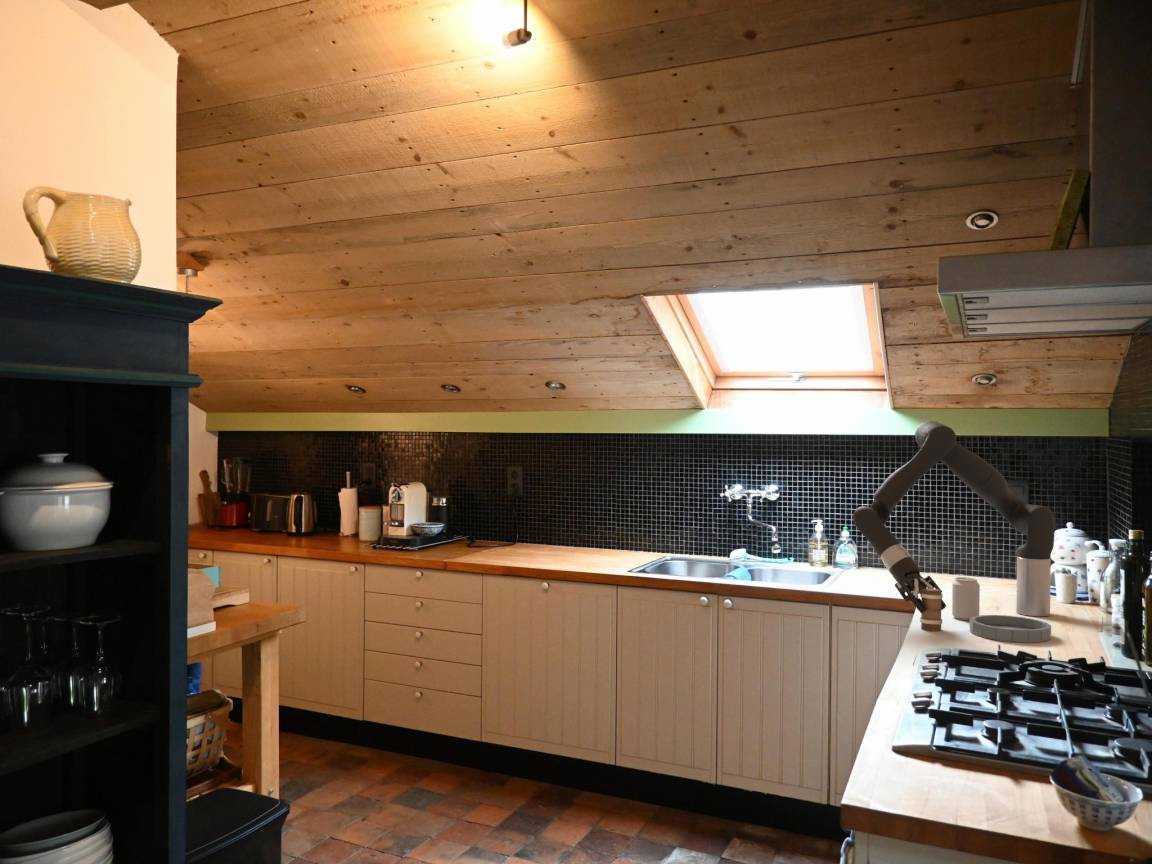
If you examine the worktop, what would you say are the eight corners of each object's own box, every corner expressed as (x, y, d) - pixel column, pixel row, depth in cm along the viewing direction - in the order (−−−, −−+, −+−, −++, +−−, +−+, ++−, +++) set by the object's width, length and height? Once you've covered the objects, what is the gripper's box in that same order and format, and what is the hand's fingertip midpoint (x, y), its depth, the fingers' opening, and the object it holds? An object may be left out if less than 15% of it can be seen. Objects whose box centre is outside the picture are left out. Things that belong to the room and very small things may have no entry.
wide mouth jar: (946, 617, 271) (946, 577, 271) (965, 615, 274) (965, 575, 274) (966, 621, 264) (966, 580, 264) (985, 620, 267) (985, 579, 267)
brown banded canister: (918, 626, 257) (918, 587, 257) (940, 627, 256) (940, 588, 256) (922, 631, 251) (922, 591, 251) (944, 632, 250) (944, 592, 250)
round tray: (962, 624, 259) (962, 613, 259) (1037, 628, 256) (1037, 616, 256) (979, 640, 240) (979, 628, 240) (1061, 644, 236) (1061, 632, 236)
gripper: (891, 557, 256) (926, 604, 247) (923, 554, 264) (958, 599, 254) (876, 573, 261) (909, 620, 251) (907, 569, 268) (941, 615, 259)
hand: (934, 609), depth 253 cm, fingers open, 8 cm apart
